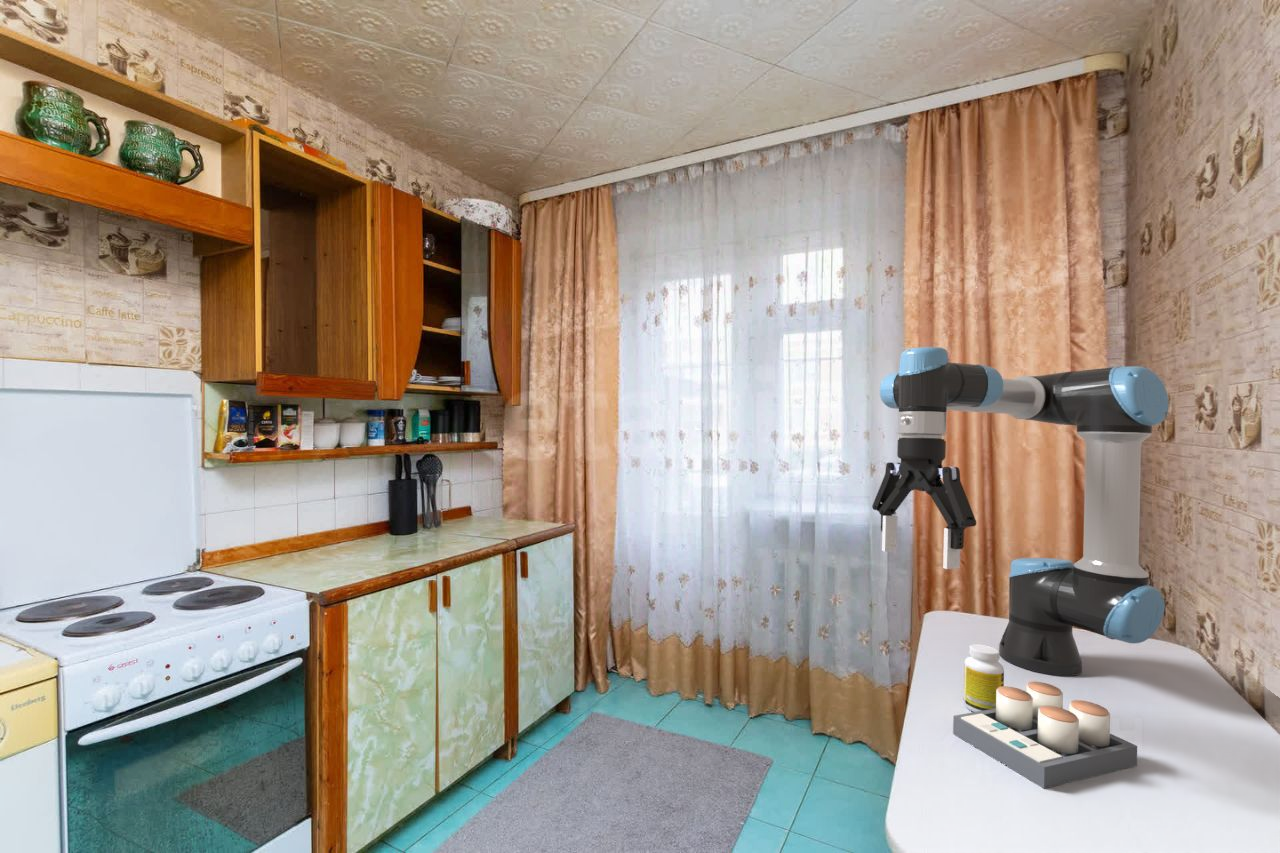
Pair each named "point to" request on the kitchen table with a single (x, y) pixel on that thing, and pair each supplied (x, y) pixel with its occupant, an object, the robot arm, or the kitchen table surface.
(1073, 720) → the button
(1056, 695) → the button
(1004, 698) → the button
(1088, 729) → the button
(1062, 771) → the board
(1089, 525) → the robot arm
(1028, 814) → the kitchen table surface
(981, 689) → the pill bottle
